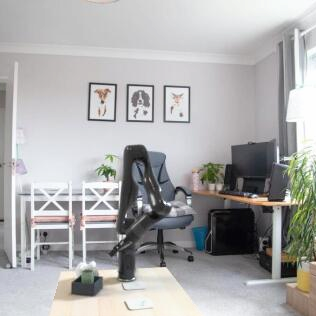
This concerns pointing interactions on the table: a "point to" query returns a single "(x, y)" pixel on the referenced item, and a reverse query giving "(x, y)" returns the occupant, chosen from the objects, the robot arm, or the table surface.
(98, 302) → the table surface
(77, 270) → the white knot sculpture
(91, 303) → the table surface
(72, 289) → the tub
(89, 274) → the cup
